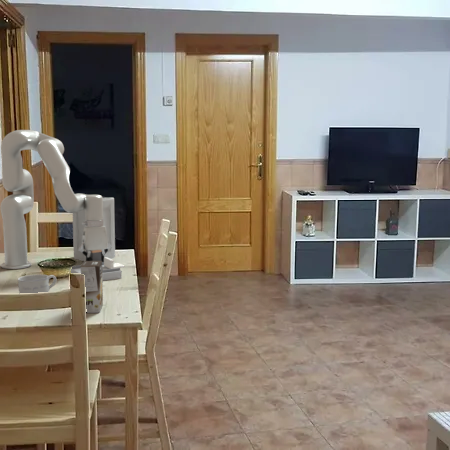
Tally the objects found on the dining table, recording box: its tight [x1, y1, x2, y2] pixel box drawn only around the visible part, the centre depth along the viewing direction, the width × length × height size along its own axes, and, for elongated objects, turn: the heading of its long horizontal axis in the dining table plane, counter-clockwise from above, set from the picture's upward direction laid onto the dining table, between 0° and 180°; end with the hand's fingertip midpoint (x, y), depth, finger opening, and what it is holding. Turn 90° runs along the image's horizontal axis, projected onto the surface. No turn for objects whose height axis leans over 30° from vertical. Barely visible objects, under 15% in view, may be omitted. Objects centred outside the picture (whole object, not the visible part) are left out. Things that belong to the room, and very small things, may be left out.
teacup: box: [17, 274, 58, 294], centre depth 229 cm, size 14×11×8 cm
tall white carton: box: [72, 197, 116, 262], centre depth 292 cm, size 19×15×28 cm
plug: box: [90, 250, 102, 261], centre depth 273 cm, size 4×4×9 cm
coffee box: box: [80, 261, 104, 314], centre depth 215 cm, size 9×6×16 cm
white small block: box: [104, 257, 126, 269], centre depth 265 cm, size 7×6×4 cm
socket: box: [71, 262, 122, 281], centre depth 261 cm, size 16×16×4 cm
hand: (95, 264), depth 274 cm, fingers open, 5 cm apart
